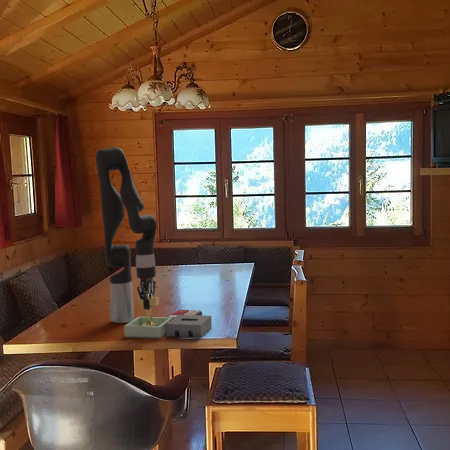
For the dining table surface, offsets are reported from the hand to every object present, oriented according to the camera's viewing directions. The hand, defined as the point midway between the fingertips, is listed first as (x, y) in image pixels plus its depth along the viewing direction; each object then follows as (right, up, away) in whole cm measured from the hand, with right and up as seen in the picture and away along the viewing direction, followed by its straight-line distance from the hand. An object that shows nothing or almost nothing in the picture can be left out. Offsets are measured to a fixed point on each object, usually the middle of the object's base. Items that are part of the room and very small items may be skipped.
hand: (148, 308), depth 230 cm
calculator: (+14, -9, +16) cm, 23 cm away
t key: (+1, -8, +1) cm, 8 cm away
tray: (0, -10, +1) cm, 10 cm away
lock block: (+17, -9, 0) cm, 19 cm away
